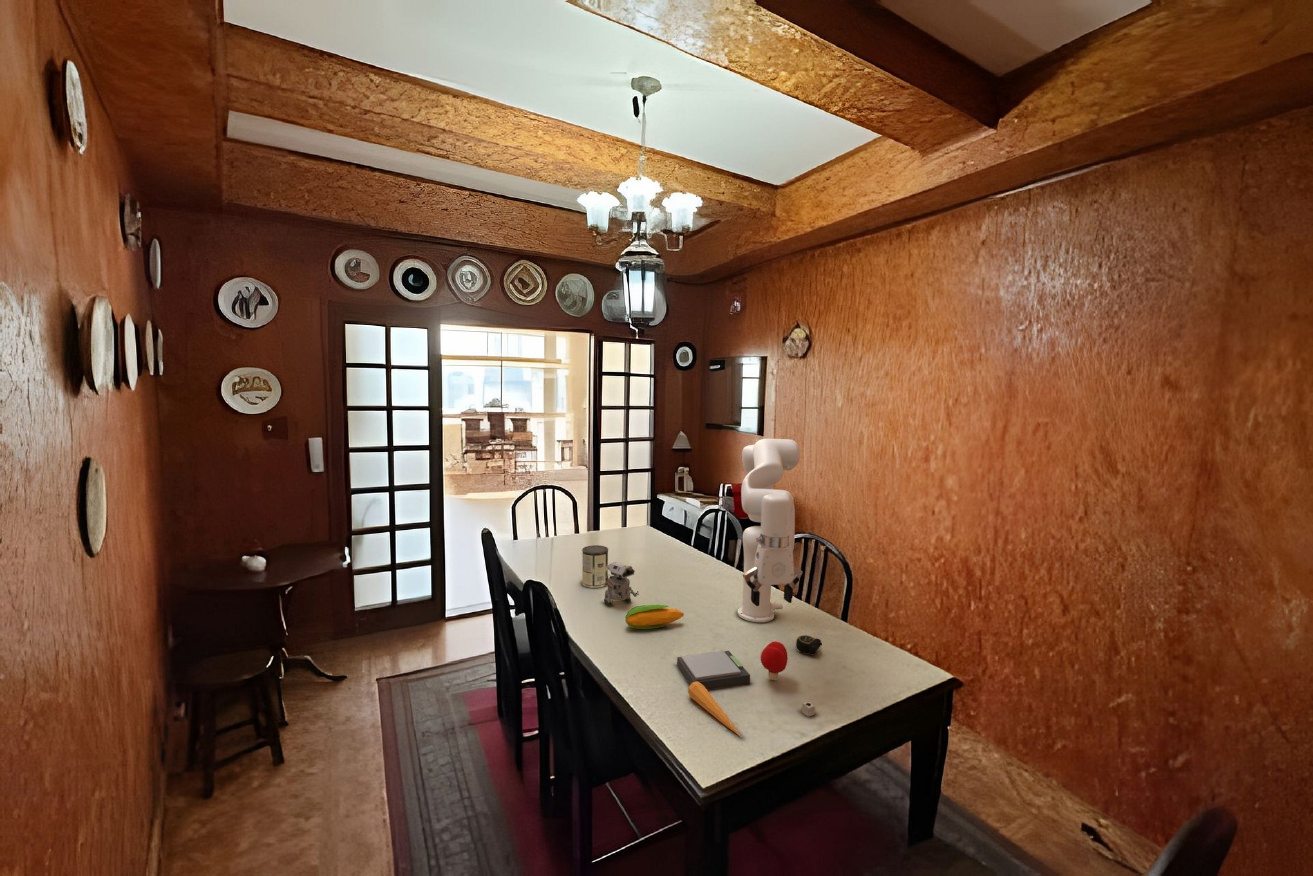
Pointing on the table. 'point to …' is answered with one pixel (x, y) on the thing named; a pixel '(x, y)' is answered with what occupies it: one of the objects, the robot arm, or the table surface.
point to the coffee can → (594, 566)
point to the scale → (713, 669)
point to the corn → (651, 616)
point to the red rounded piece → (774, 659)
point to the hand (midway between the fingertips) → (771, 602)
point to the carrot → (709, 704)
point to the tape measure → (808, 644)
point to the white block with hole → (808, 709)
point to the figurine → (618, 583)
